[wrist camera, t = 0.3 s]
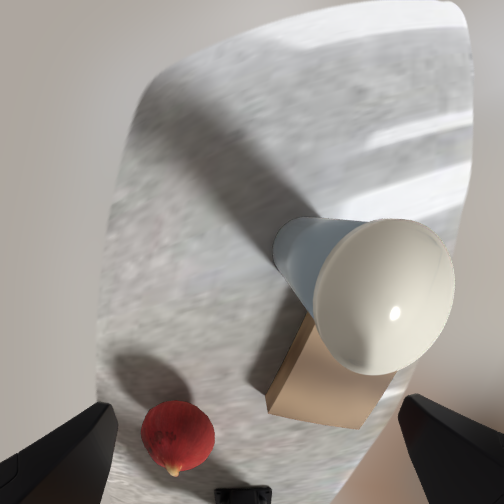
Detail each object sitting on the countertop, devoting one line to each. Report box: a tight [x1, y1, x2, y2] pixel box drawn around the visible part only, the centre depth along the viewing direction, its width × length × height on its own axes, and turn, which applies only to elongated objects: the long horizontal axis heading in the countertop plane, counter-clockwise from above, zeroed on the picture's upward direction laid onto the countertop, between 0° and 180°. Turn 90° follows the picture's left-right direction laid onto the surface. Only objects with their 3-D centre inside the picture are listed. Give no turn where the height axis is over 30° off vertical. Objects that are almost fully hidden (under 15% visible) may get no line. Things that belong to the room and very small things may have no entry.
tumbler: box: [273, 217, 455, 375], centre depth 15 cm, size 5×5×13 cm
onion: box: [141, 400, 215, 476], centre depth 19 cm, size 6×6×8 cm
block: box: [265, 312, 397, 430], centre depth 22 cm, size 9×9×2 cm
